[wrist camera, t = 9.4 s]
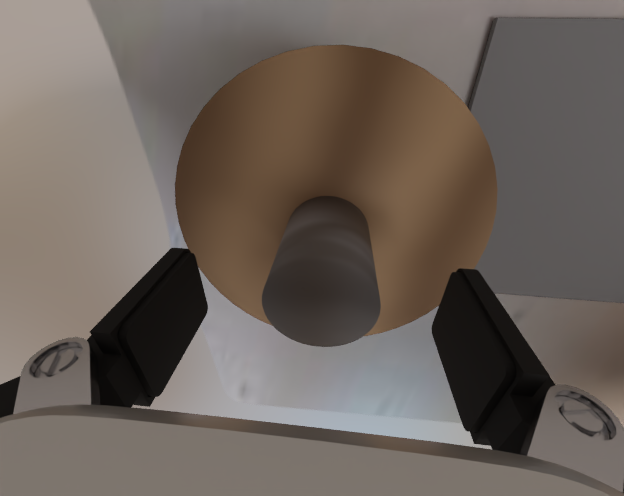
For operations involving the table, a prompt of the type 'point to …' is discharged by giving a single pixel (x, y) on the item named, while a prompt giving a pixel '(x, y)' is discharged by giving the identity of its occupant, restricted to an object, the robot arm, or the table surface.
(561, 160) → the mat
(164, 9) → the table surface
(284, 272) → the lid
